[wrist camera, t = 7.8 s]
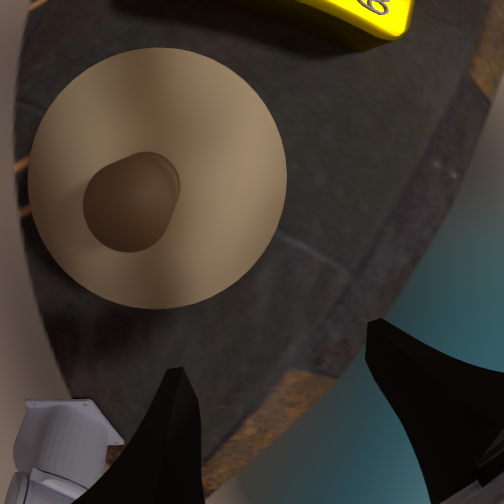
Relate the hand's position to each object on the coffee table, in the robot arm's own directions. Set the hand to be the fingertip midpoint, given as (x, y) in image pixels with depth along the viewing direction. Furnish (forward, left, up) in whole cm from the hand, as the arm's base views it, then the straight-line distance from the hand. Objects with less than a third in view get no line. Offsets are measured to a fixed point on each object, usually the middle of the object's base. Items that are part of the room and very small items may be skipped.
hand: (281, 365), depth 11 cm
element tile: (+7, +22, -11) cm, 26 cm away
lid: (-4, +7, -5) cm, 9 cm away
